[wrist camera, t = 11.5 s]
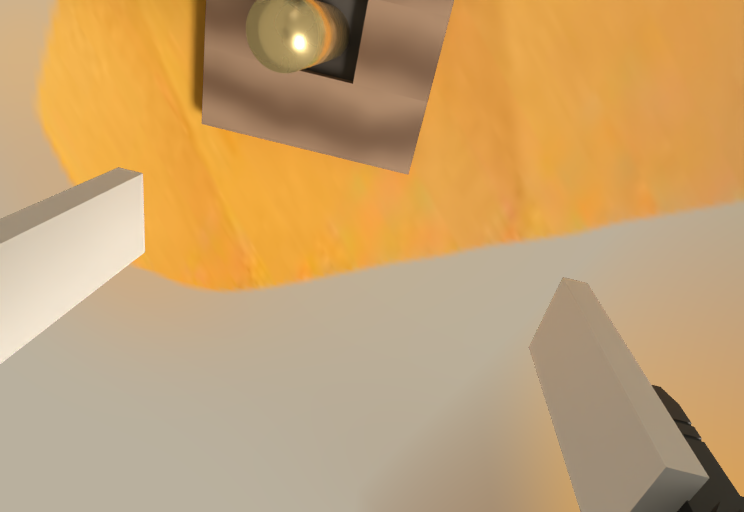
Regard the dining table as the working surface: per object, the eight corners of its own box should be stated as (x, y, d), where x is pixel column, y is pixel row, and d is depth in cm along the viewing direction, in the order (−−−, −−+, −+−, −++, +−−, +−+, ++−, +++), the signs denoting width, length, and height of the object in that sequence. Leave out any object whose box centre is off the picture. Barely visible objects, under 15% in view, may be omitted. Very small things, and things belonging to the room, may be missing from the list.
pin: (302, -2, 34) (248, -17, 23) (354, 9, 34) (323, 0, 23) (296, 54, 36) (243, 64, 25) (344, 65, 36) (312, 80, 25)
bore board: (223, -139, 31) (211, -149, 29) (473, -78, 31) (476, -85, 29) (211, 119, 40) (201, 123, 38) (409, 168, 39) (408, 174, 38)
